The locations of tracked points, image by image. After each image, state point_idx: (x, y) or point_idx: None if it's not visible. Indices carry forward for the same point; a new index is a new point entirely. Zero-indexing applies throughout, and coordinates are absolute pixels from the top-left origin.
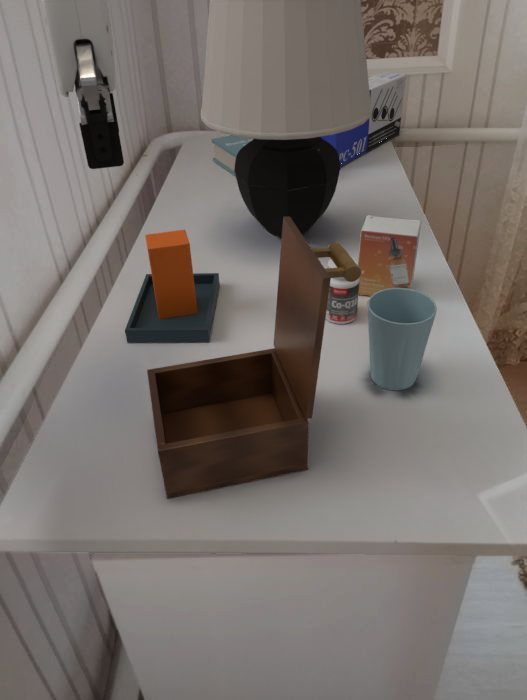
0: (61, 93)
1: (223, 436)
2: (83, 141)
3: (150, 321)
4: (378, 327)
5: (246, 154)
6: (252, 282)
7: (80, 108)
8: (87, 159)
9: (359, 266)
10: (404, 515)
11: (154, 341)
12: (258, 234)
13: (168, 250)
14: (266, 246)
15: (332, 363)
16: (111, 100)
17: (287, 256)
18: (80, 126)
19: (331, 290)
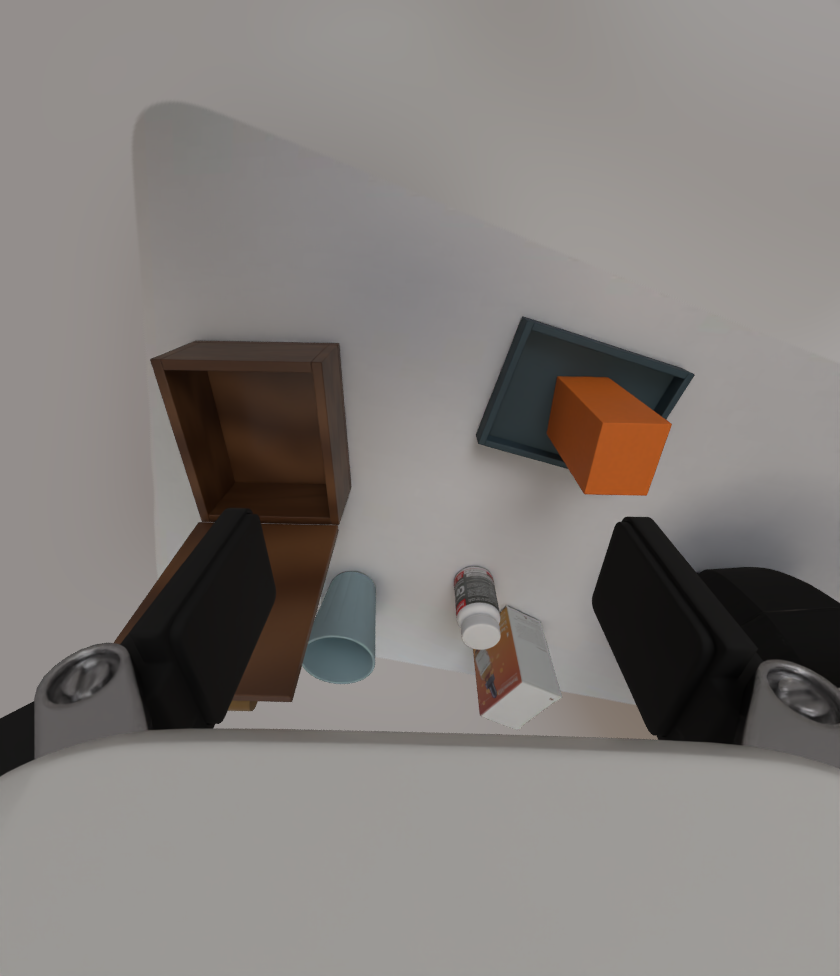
0: (15, 769)
1: (177, 437)
2: (176, 573)
3: (557, 361)
4: (320, 627)
5: (837, 655)
6: (597, 514)
7: (43, 733)
8: (215, 525)
9: (511, 637)
10: (178, 536)
11: (505, 360)
12: (730, 552)
13: (590, 455)
14: (685, 552)
15: (388, 548)
16: (646, 717)
17: (263, 648)
18: (133, 627)
19: (466, 600)
